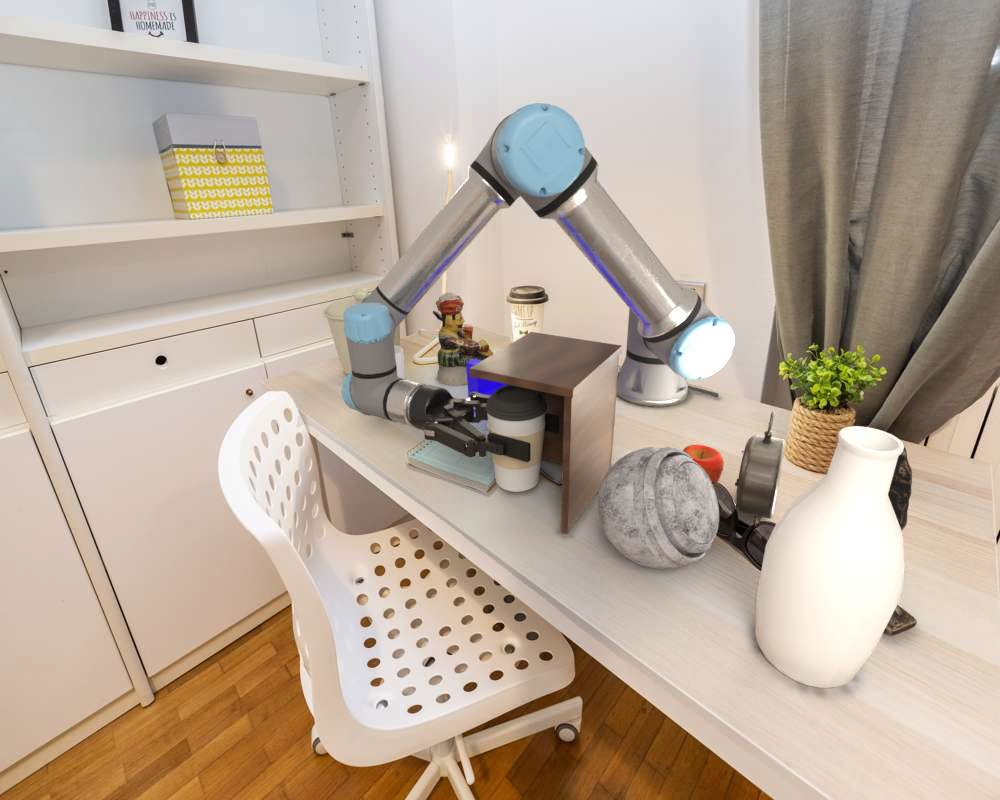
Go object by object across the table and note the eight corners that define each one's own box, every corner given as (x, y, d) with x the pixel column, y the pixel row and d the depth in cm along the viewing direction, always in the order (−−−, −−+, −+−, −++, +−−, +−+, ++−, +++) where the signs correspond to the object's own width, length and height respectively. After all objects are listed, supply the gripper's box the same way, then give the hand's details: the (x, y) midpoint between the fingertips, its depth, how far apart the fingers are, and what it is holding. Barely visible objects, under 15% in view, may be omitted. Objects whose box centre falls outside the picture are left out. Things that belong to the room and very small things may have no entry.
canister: (384, 354, 139) (374, 276, 130) (423, 371, 127) (414, 286, 118) (322, 373, 128) (305, 289, 119) (357, 393, 116) (342, 302, 107)
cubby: (477, 504, 78) (469, 368, 68) (531, 451, 91) (530, 331, 82) (568, 536, 71) (573, 389, 61) (612, 473, 84) (622, 345, 75)
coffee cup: (479, 488, 78) (474, 399, 72) (501, 458, 85) (498, 375, 79) (535, 501, 75) (536, 408, 68) (553, 468, 82) (555, 383, 76)
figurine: (476, 391, 115) (471, 304, 107) (422, 380, 122) (413, 297, 114) (503, 373, 125) (500, 291, 116) (451, 363, 132) (445, 285, 123)
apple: (666, 486, 81) (671, 444, 77) (697, 477, 83) (704, 436, 79) (694, 508, 75) (701, 465, 72) (727, 498, 77) (735, 455, 74)
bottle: (828, 724, 47) (918, 493, 36) (722, 638, 55) (768, 430, 44) (888, 664, 52) (982, 446, 41) (782, 593, 60) (837, 398, 50)
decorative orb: (681, 615, 58) (699, 507, 52) (573, 559, 67) (577, 460, 60) (727, 544, 68) (746, 447, 62) (628, 503, 77) (636, 414, 70)
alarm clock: (766, 541, 69) (792, 435, 62) (723, 528, 71) (743, 425, 64) (776, 498, 77) (799, 400, 70) (737, 488, 80) (756, 392, 73)
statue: (889, 642, 54) (955, 484, 46) (828, 595, 60) (876, 447, 51) (916, 629, 55) (985, 473, 47) (853, 584, 61) (904, 438, 53)
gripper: (460, 402, 95) (573, 429, 84) (379, 455, 78) (507, 498, 68) (457, 364, 92) (574, 387, 81) (373, 411, 75) (506, 449, 64)
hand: (544, 438), depth 74 cm, fingers closed on coffee cup, 9 cm apart
